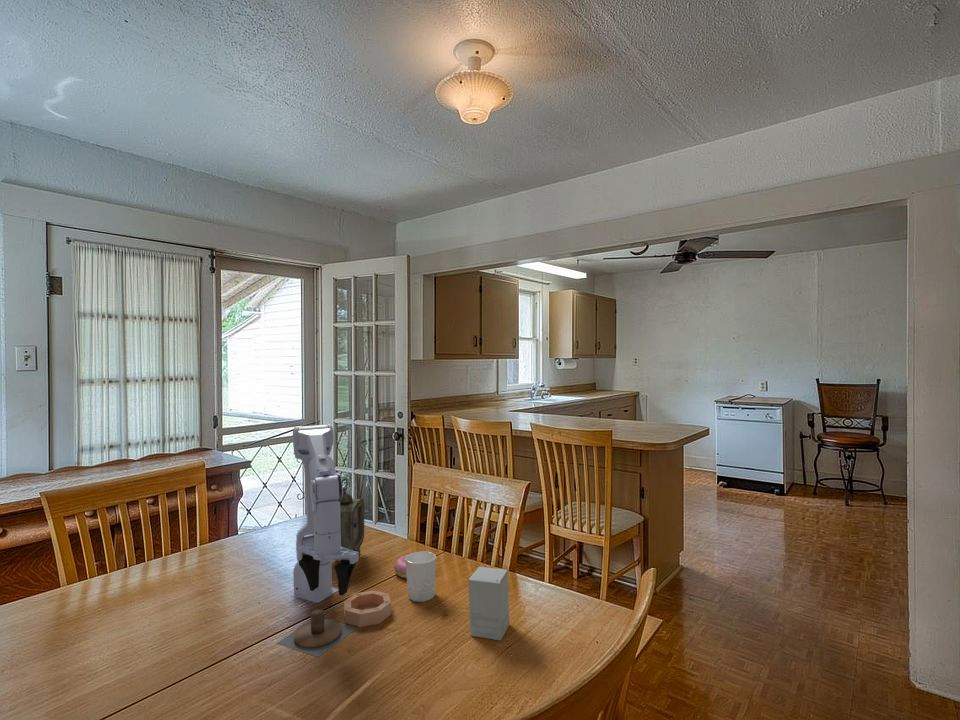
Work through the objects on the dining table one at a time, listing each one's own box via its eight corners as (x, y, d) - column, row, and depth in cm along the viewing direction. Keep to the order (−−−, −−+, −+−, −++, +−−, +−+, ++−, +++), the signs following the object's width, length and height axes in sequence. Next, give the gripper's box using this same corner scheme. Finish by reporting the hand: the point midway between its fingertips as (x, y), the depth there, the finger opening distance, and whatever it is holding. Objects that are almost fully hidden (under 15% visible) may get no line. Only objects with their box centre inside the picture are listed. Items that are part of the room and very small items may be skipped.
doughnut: (440, 569, 145) (440, 555, 145) (416, 584, 136) (415, 569, 136) (411, 561, 151) (411, 548, 151) (386, 575, 142) (385, 561, 142)
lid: (283, 641, 108) (283, 618, 108) (317, 619, 117) (317, 598, 117) (318, 653, 104) (317, 629, 104) (350, 629, 113) (350, 607, 113)
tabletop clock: (352, 570, 145) (351, 484, 145) (321, 570, 145) (319, 484, 145) (365, 550, 160) (363, 472, 160) (336, 551, 160) (335, 473, 160)
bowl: (335, 622, 117) (334, 607, 117) (364, 601, 127) (364, 587, 127) (370, 632, 112) (370, 617, 112) (399, 610, 122) (398, 596, 122)
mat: (276, 645, 108) (276, 642, 108) (317, 619, 119) (317, 616, 119) (318, 660, 102) (317, 657, 102) (357, 630, 113) (357, 628, 113)
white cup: (431, 604, 125) (430, 564, 124) (401, 602, 126) (400, 562, 126) (440, 589, 132) (439, 552, 132) (412, 587, 134) (411, 550, 134)
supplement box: (510, 624, 115) (509, 569, 115) (501, 641, 108) (499, 583, 108) (479, 619, 117) (478, 565, 117) (468, 636, 110) (467, 579, 110)
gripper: (288, 533, 110) (289, 594, 110) (344, 540, 105) (346, 604, 105) (309, 522, 117) (310, 580, 117) (363, 528, 112) (364, 589, 112)
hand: (328, 591), depth 111 cm, fingers open, 7 cm apart
